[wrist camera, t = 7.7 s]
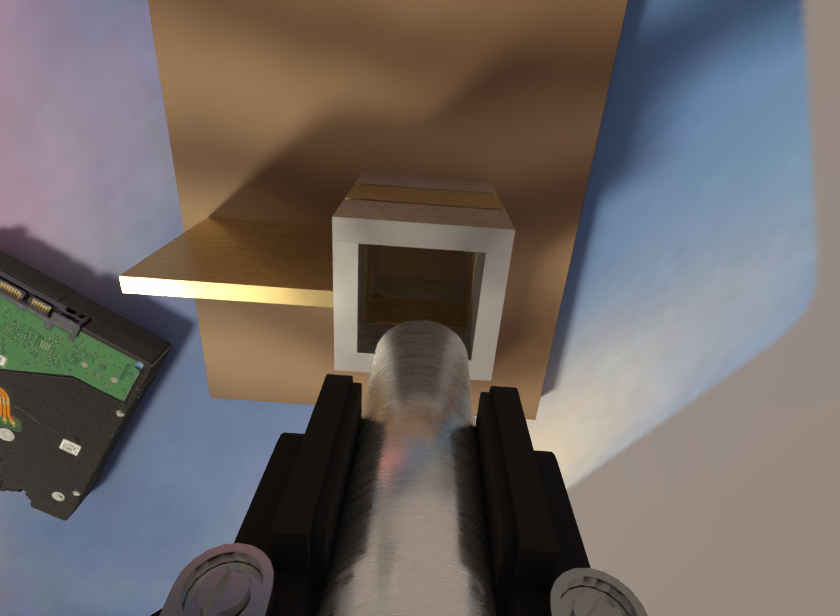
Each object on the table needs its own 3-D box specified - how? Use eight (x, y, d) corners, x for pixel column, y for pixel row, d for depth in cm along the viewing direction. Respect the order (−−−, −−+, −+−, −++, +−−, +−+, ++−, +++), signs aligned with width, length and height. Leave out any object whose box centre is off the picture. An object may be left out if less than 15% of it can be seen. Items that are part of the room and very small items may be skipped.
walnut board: (142, -173, 17) (117, -193, 16) (643, -133, 17) (661, -150, 16) (221, 381, 28) (210, 397, 27) (530, 402, 28) (535, 419, 27)
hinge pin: (364, 305, 13) (188, 879, 4) (485, 314, 13) (611, 908, 4) (362, 404, 14) (232, 992, 5) (471, 412, 14) (537, 1014, 5)
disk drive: (96, 489, 33) (178, 338, 27) (69, 524, 31) (152, 366, 25) (-64, 419, 31) (-11, 236, 25) (-108, 450, 28) (-61, 256, 22)
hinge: (200, 160, 21) (101, 200, 15) (490, 181, 21) (515, 229, 15) (231, 396, 26) (169, 497, 20) (460, 411, 27) (469, 517, 20)
